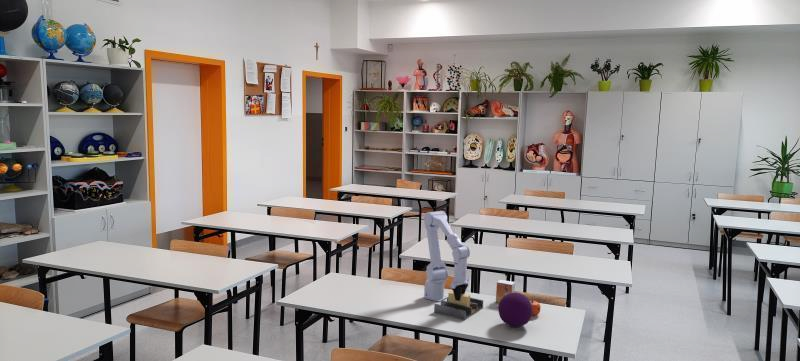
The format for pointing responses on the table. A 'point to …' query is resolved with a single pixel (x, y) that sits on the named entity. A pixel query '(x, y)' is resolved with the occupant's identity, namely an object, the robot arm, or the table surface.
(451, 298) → the tan rectangular block
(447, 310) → the rack
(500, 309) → the toy ball
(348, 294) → the table surface
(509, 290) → the small box
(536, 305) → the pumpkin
